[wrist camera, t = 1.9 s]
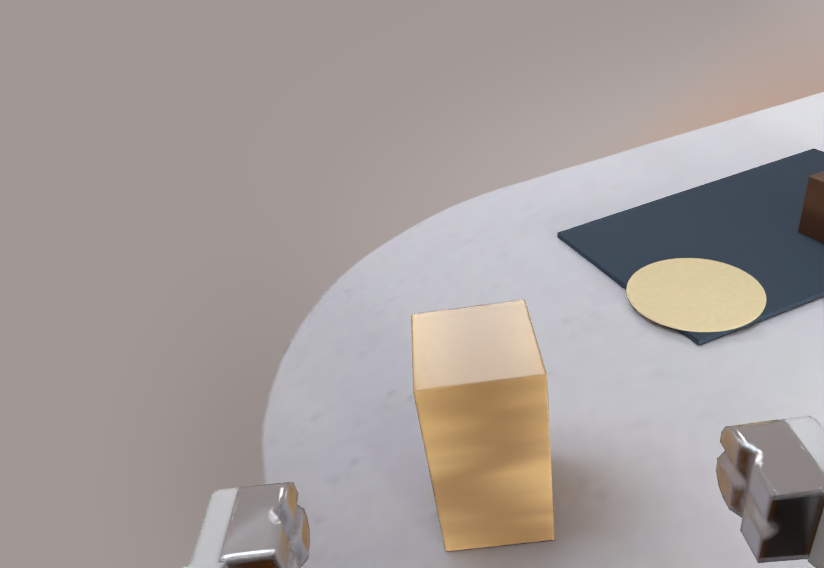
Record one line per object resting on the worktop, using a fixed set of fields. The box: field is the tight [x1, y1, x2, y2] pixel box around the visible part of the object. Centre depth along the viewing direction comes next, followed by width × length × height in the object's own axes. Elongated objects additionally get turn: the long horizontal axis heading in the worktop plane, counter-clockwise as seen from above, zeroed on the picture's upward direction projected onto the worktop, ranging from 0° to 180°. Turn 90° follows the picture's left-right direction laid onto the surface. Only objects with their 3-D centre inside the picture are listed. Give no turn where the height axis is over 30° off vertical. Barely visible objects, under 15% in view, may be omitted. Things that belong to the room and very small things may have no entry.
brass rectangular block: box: [411, 300, 554, 551], centre depth 28 cm, size 5×5×10 cm
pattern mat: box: [558, 149, 824, 345], centre depth 47 cm, size 27×16×1 cm, turn 110°
